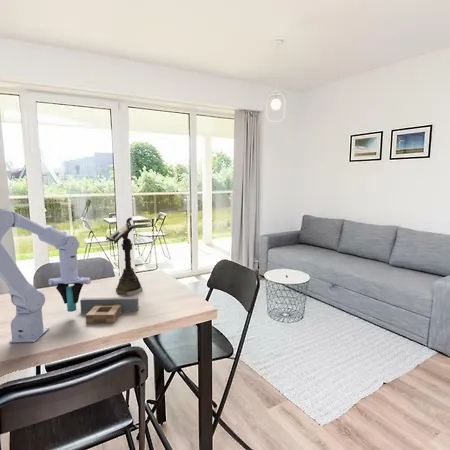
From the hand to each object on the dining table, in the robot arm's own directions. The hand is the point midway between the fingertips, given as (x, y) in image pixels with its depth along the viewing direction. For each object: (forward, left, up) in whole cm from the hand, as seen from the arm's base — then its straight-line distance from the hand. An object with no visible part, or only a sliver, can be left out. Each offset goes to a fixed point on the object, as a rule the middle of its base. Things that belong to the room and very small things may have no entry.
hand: (71, 302), depth 120 cm
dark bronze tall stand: (+27, -12, -6) cm, 30 cm away
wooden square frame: (0, -12, -6) cm, 13 cm away
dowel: (0, 0, -3) cm, 3 cm away
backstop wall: (+8, -12, -6) cm, 15 cm away
